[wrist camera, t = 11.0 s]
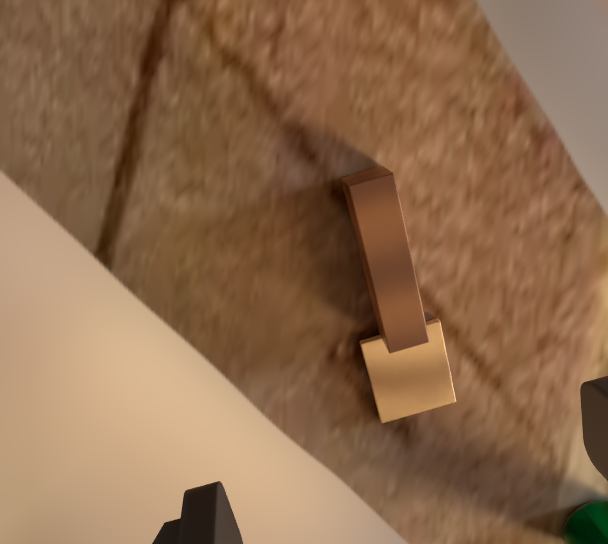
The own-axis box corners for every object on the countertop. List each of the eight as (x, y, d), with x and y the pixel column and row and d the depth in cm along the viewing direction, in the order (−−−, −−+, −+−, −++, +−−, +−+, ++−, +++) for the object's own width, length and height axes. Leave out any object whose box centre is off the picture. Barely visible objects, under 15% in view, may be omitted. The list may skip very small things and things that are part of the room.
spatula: (317, 184, 29) (323, 193, 27) (405, 158, 29) (419, 165, 27) (379, 419, 35) (389, 443, 33) (453, 397, 35) (468, 420, 33)
